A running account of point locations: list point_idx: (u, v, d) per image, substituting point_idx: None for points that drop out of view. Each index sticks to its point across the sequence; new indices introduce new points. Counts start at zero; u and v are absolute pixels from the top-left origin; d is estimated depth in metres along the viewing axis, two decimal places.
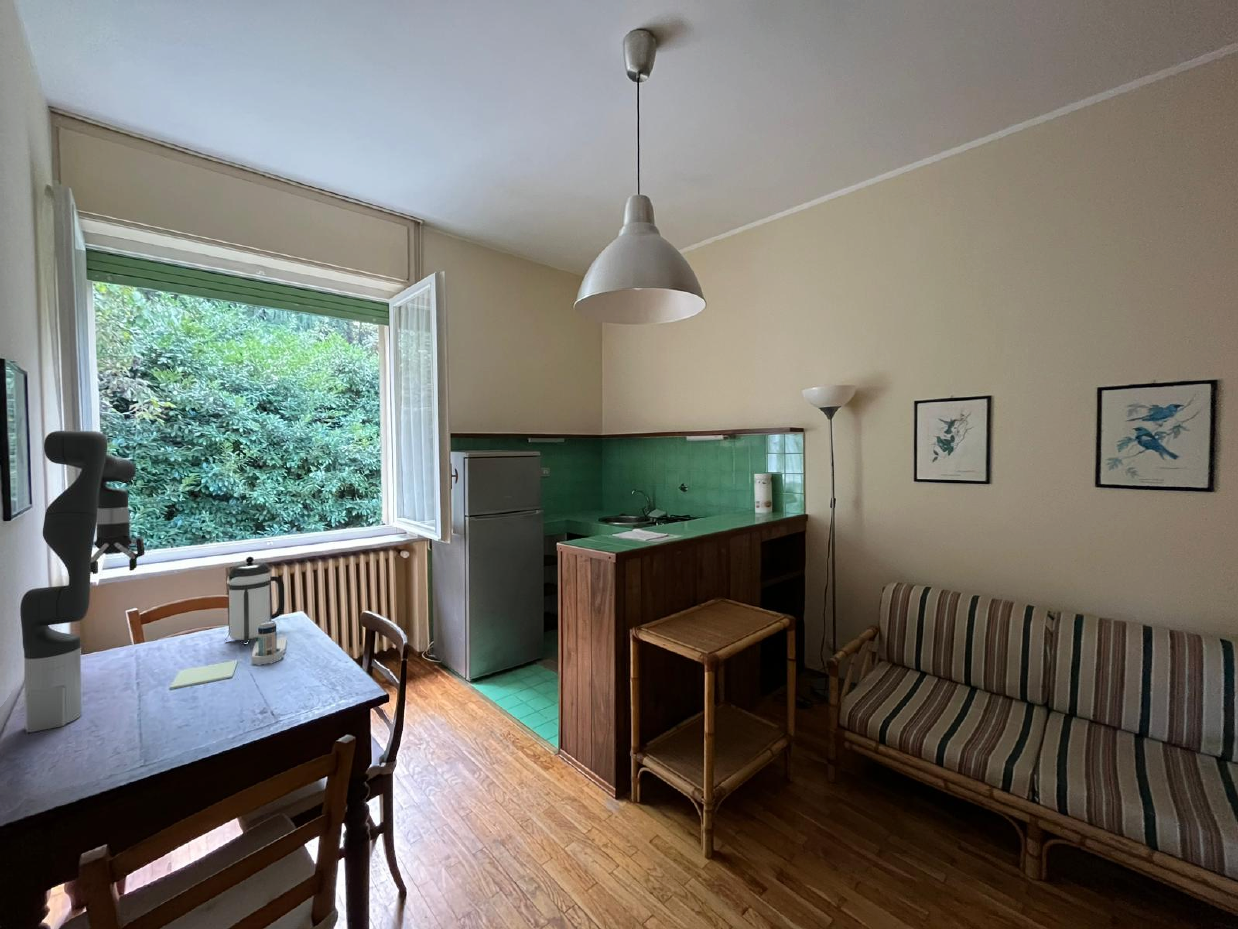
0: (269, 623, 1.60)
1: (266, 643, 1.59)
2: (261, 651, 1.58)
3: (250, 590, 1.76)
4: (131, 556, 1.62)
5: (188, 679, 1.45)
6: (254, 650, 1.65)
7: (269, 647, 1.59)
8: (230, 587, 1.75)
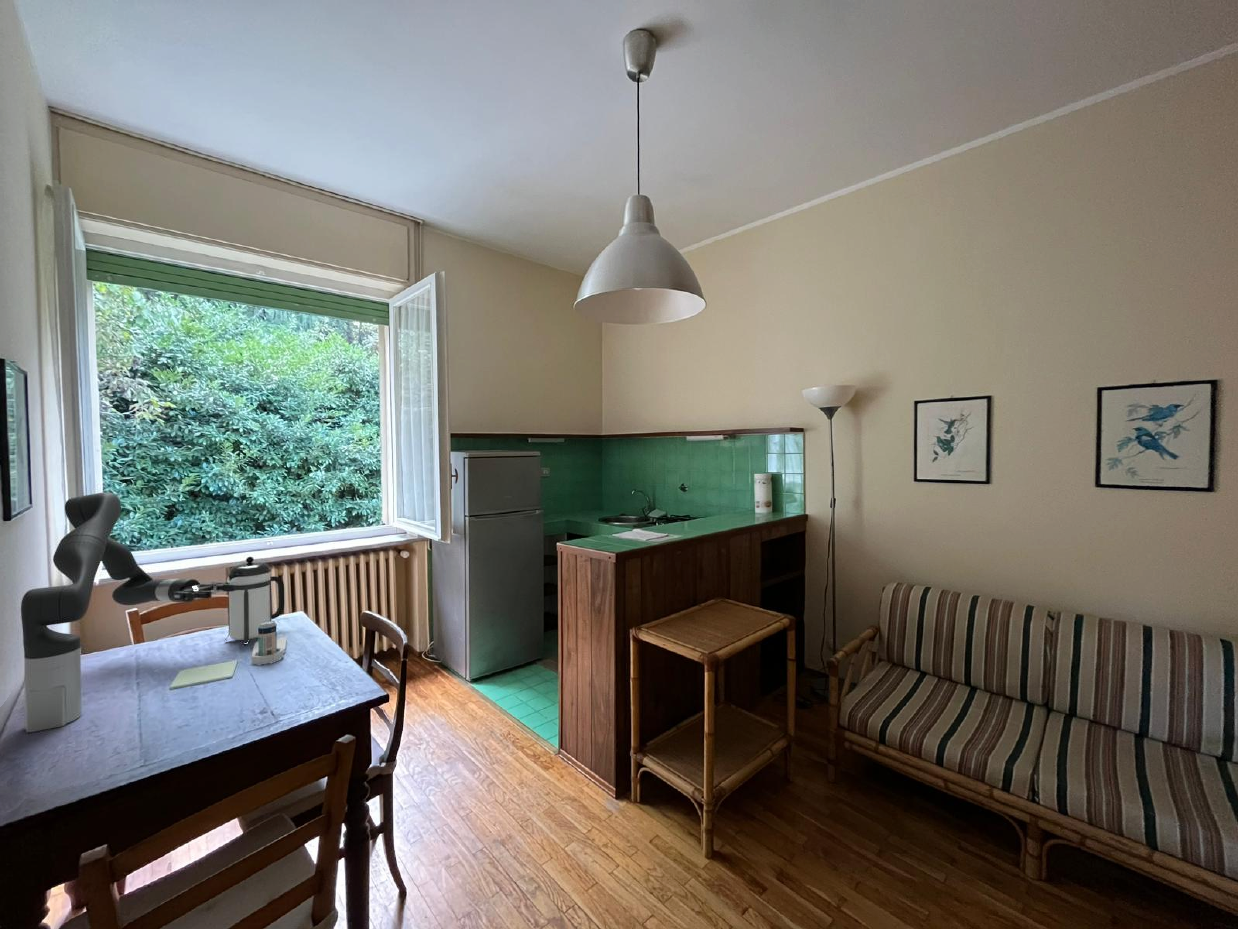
0: (269, 623, 1.60)
1: (266, 643, 1.59)
2: (261, 651, 1.58)
3: (250, 590, 1.76)
4: (221, 584, 1.67)
5: (188, 679, 1.45)
6: (254, 650, 1.65)
7: (269, 647, 1.59)
8: None
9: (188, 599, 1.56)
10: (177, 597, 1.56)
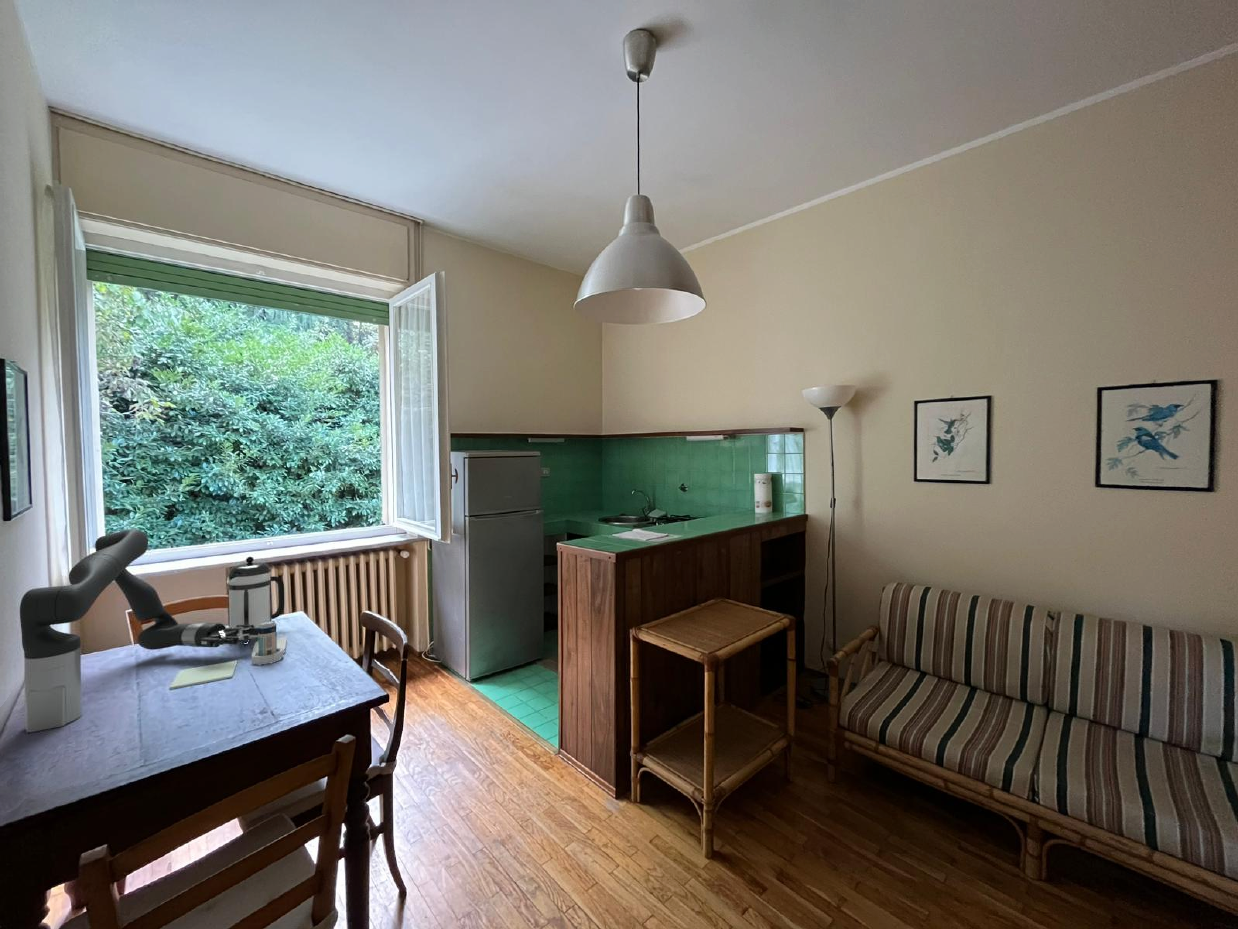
0: (269, 623, 1.60)
1: (266, 643, 1.59)
2: (261, 651, 1.58)
3: (250, 590, 1.76)
4: (247, 627, 1.66)
5: (188, 679, 1.45)
6: (254, 650, 1.65)
7: (269, 647, 1.59)
8: (230, 587, 1.75)
9: (216, 646, 1.55)
10: (204, 644, 1.55)
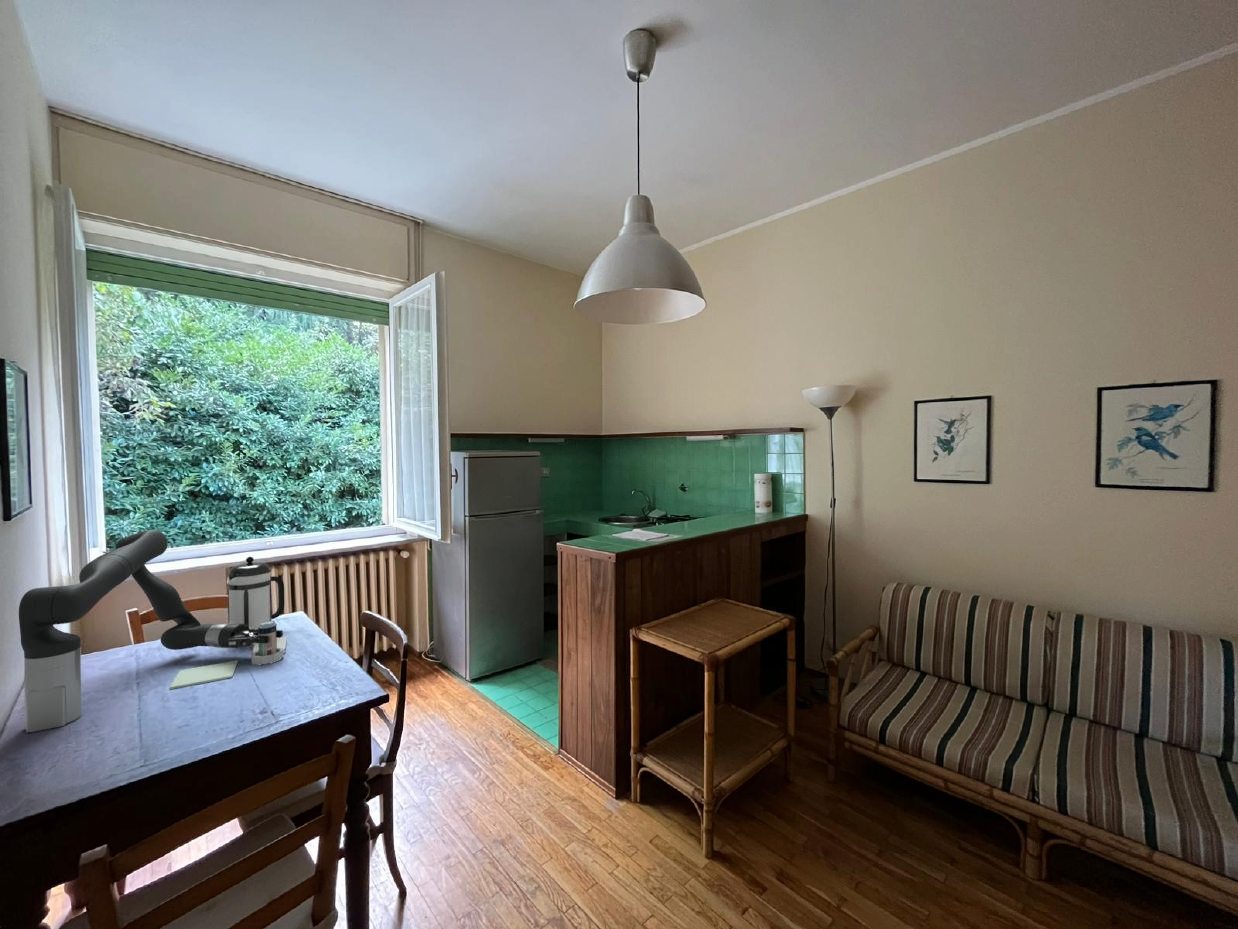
0: (269, 623, 1.60)
1: (266, 643, 1.59)
2: (261, 651, 1.58)
3: (250, 590, 1.76)
4: None
5: (188, 679, 1.45)
6: (254, 650, 1.65)
7: (269, 647, 1.59)
8: (230, 587, 1.75)
9: (247, 645, 1.55)
10: (233, 644, 1.55)
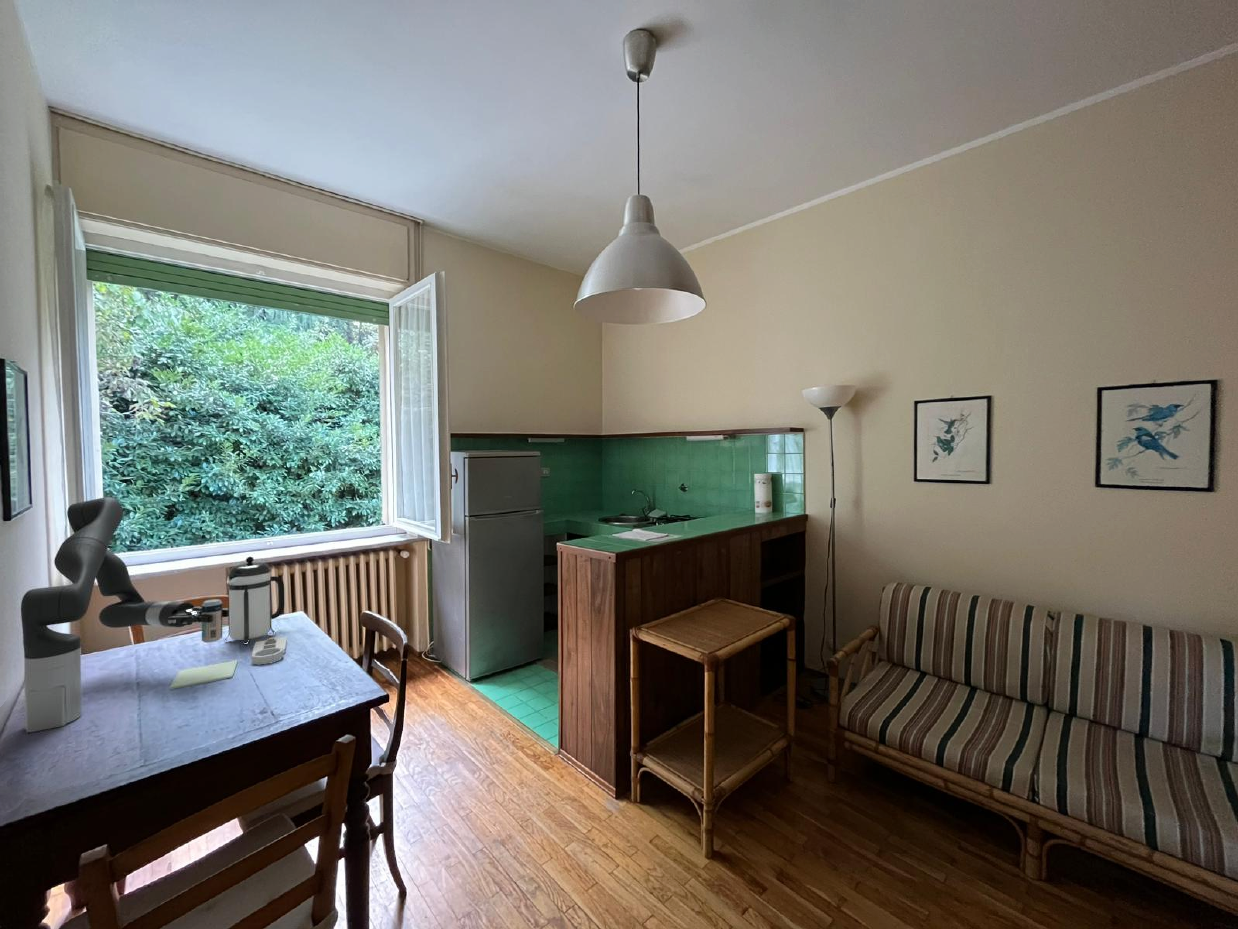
0: (214, 601, 1.50)
1: None
2: (204, 631, 1.48)
3: (250, 590, 1.76)
4: None
5: (188, 679, 1.45)
6: (254, 650, 1.65)
7: (213, 627, 1.49)
8: (230, 587, 1.75)
9: (188, 623, 1.45)
10: (173, 622, 1.44)
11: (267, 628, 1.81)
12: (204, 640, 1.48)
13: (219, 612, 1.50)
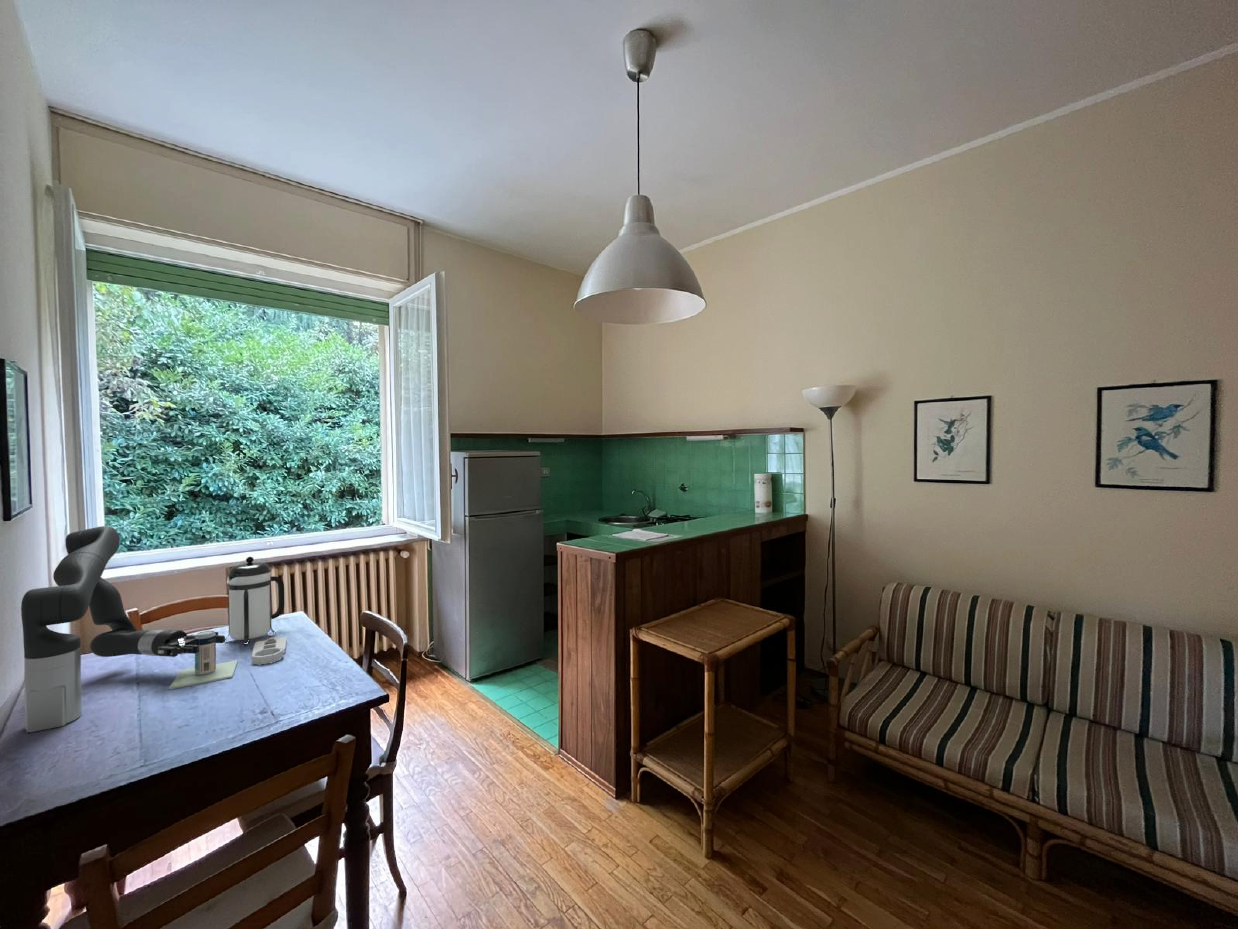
0: (207, 633, 1.49)
1: (203, 654, 1.47)
2: (197, 663, 1.47)
3: (250, 590, 1.76)
4: None
5: (188, 679, 1.45)
6: (254, 650, 1.65)
7: (206, 659, 1.48)
8: (230, 587, 1.75)
9: (173, 655, 1.43)
10: (161, 653, 1.43)
11: (267, 628, 1.81)
12: (197, 673, 1.47)
13: (212, 644, 1.49)
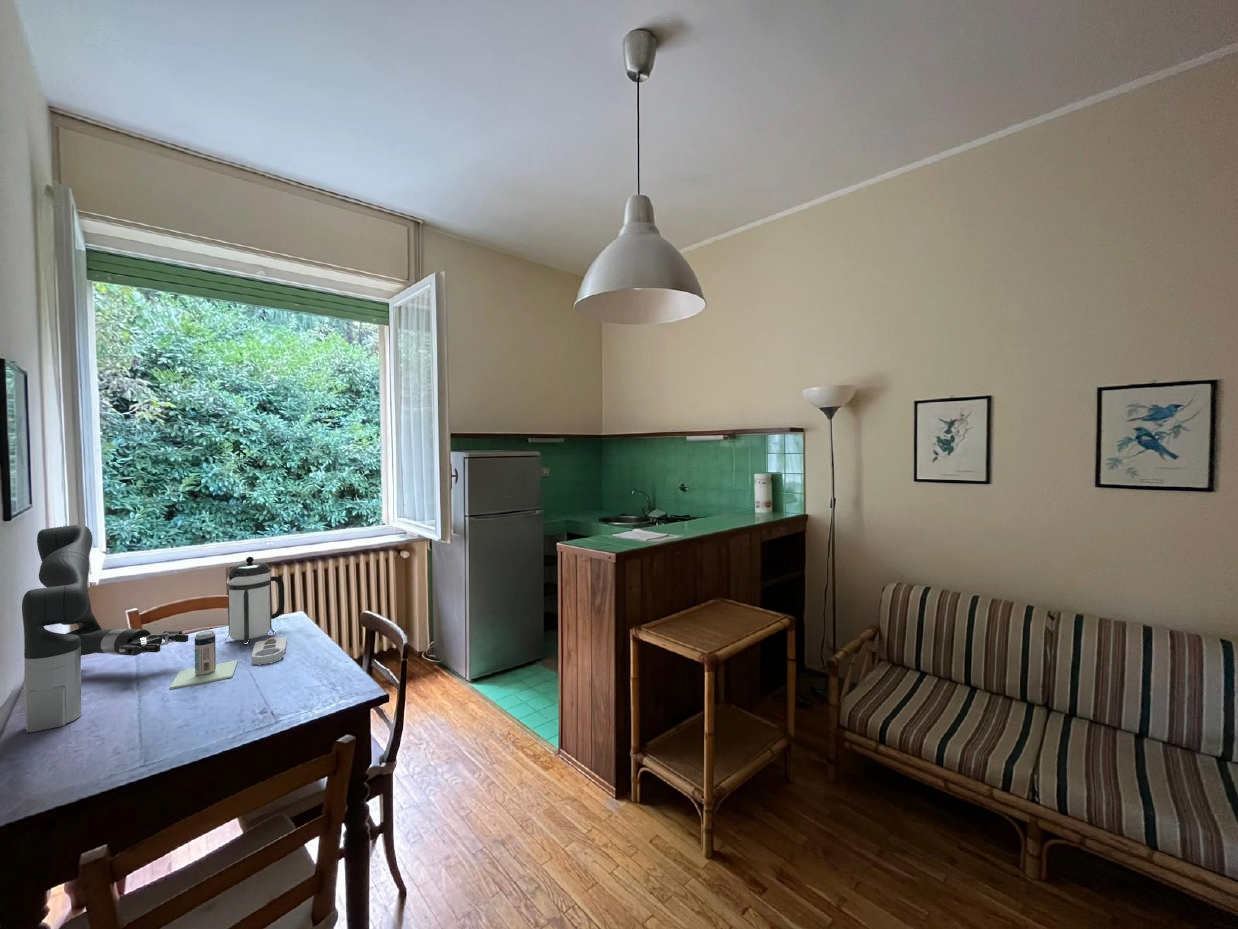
0: (207, 633, 1.49)
1: (203, 655, 1.47)
2: (197, 664, 1.47)
3: (250, 590, 1.76)
4: (174, 633, 1.55)
5: (188, 679, 1.45)
6: (254, 650, 1.65)
7: (206, 659, 1.48)
8: (230, 587, 1.75)
9: (134, 654, 1.44)
10: (122, 652, 1.45)
11: (267, 628, 1.81)
12: (197, 673, 1.47)
13: (212, 644, 1.49)
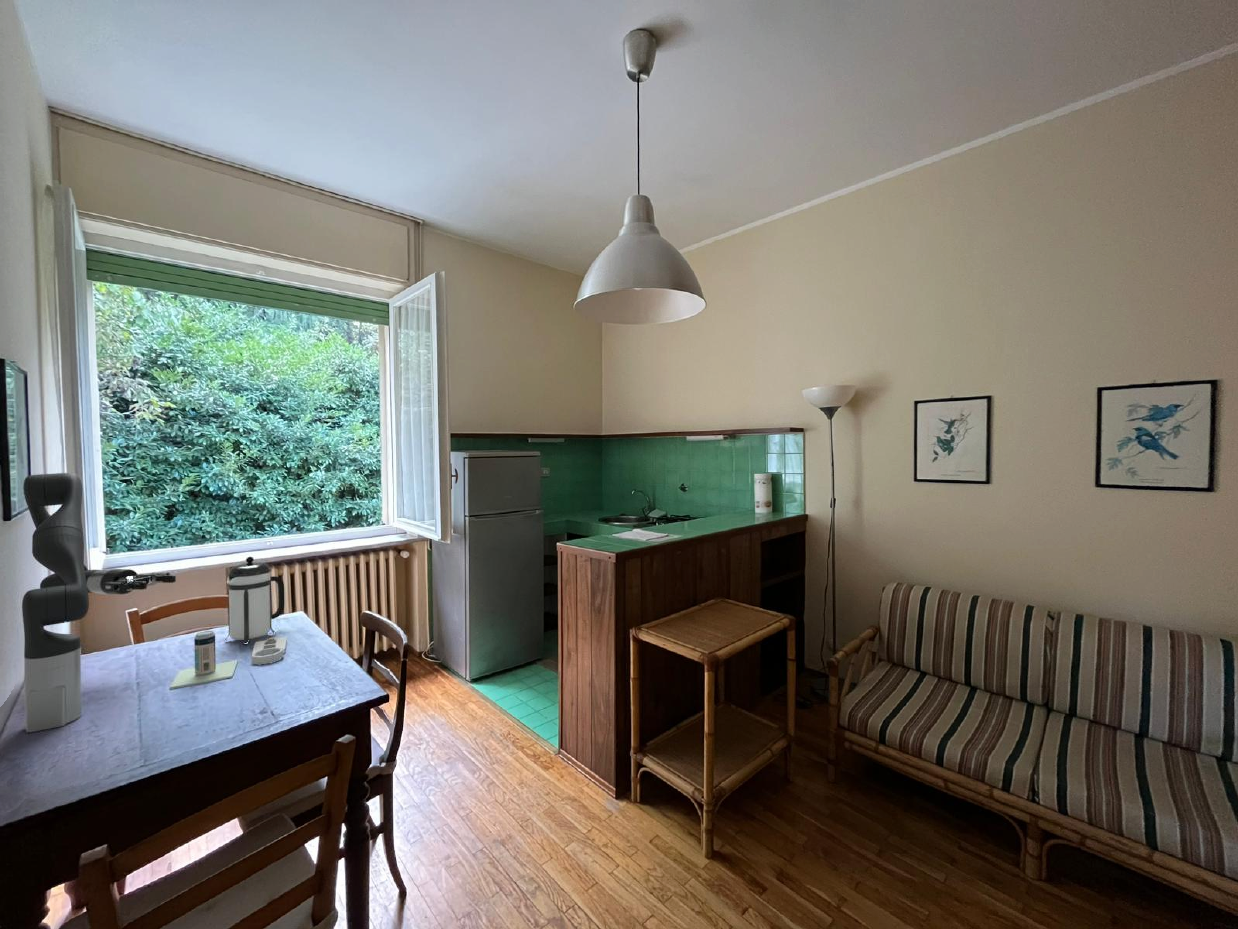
0: (206, 633, 1.49)
1: (202, 654, 1.47)
2: (197, 664, 1.47)
3: (250, 590, 1.76)
4: (161, 574, 1.55)
5: (188, 679, 1.45)
6: (254, 650, 1.65)
7: (206, 659, 1.48)
8: (230, 587, 1.75)
9: (120, 590, 1.43)
10: (108, 588, 1.44)
11: (267, 628, 1.81)
12: (197, 673, 1.47)
13: (212, 644, 1.49)
